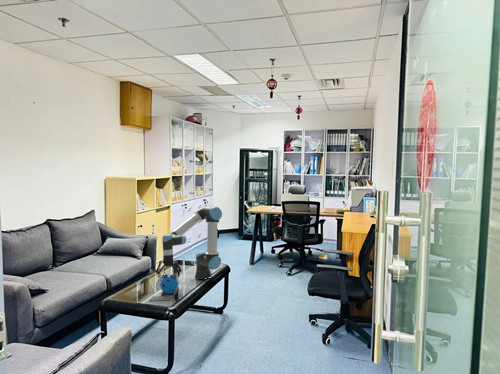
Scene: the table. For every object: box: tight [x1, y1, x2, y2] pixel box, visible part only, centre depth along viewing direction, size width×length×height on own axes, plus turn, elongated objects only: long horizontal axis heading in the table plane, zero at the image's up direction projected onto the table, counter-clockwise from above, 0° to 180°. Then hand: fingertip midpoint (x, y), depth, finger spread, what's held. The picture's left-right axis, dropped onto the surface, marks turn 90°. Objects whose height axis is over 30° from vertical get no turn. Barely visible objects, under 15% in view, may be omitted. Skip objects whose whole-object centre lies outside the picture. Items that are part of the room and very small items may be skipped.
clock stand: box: [160, 285, 180, 297], centre depth 262 cm, size 10×15×2 cm, turn 178°
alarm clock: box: [159, 273, 180, 295], centre depth 261 cm, size 13×6×15 cm, turn 89°
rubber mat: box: [148, 295, 174, 302], centre depth 250 cm, size 16×8×1 cm, turn 88°
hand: (169, 281), depth 261 cm, fingers open, 13 cm apart
